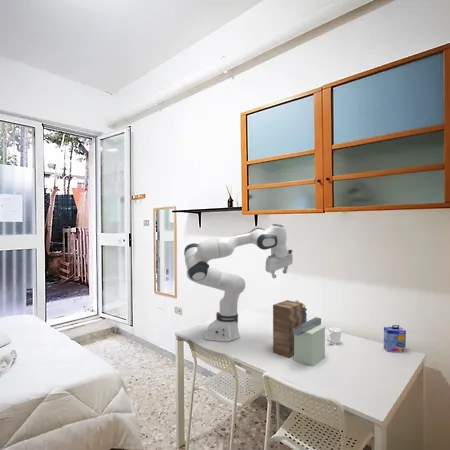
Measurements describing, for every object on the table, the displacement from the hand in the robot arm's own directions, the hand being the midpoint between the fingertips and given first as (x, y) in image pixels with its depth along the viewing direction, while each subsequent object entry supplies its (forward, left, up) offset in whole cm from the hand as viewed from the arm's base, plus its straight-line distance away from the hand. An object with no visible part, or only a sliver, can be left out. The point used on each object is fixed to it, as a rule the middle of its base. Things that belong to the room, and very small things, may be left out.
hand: (279, 275), depth 172 cm
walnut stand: (+4, -7, -41) cm, 41 cm away
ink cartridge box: (+63, -2, -41) cm, 75 cm away
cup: (+32, +5, -41) cm, 52 cm away
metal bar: (+12, -17, -25) cm, 32 cm away
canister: (+16, +35, -41) cm, 56 cm away
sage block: (+14, -15, -41) cm, 45 cm away
